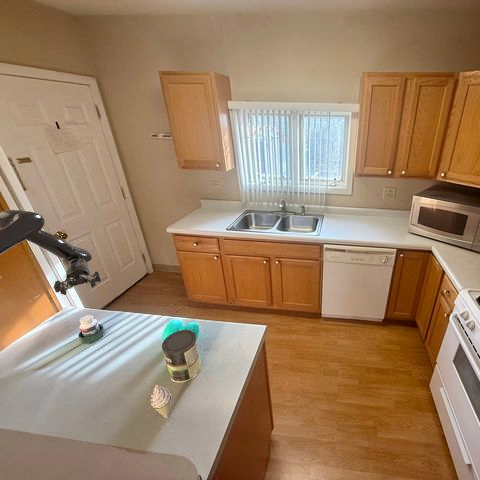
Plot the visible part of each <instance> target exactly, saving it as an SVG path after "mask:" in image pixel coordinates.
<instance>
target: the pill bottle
mask: <svg viewBox="0 0 480 480" xmlns="http://www.w3.org/2000/svg"><path fill="white" fill-rule="evenodd" d="M79 323H80V324H79V329H80V332H82V334H83V337H89V336H92V335H94V334H96V333H98V332H99V331H100V328H99V325H98V324H99V323H98V320H97V319H96V318H95V317H94V316H93V315H92V314H87V315H84V316H82V317H80V318H79Z"/></svg>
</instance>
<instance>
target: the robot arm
mask: <svg viewBox="0 0 480 480" xmlns="http://www.w3.org/2000/svg"><path fill="white" fill-rule="evenodd" d="M45 222H46V221H45V218H44V217H43V215H41V214H40V213H38V212H34V211H29V210H20V209H5V210H2V211H1V212H0V256H2V255H3V254H4V253H6V252H7V251H8V250H10V249H11V248H13V247H15V246H17V245H19V244H20V243H22V242H24V241H28V242H30V243H32V244H34V245H36V246H38V247H40V248H42V249H44V250H46V251H47V252H49V253H51V254H53V256H55V257H57V258H60V259H62V264H63V265H64V266H65V267H66V275H65V279H64V280H62V281H60V280H55V281H54V285H53V289H54V291H55V293H60V294H61V295H63V296H66V295H67V290H71V289H72V288H74V287H75V286H79V285H83V284H84V285H85V284H86V285H90V287H91V288H95V287H96V286H97V284H96V283H100V282H101V281H102V280H101V279H102V278H101V277H100V274H99V271H95V272H94V273H92V274H91V273H90V267H89V262H90V261H92V260H93V255H92V253H91V252H90V251H88V250H87V249H84V248H82V247H77V246H76V245H72V244H71V243H69V242H68V241H66V240H65V239H63V238H61V237H59V236H58V235H55V234H52V233H50V232H47V231H45V230H43V228H44V226H45Z"/></svg>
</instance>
